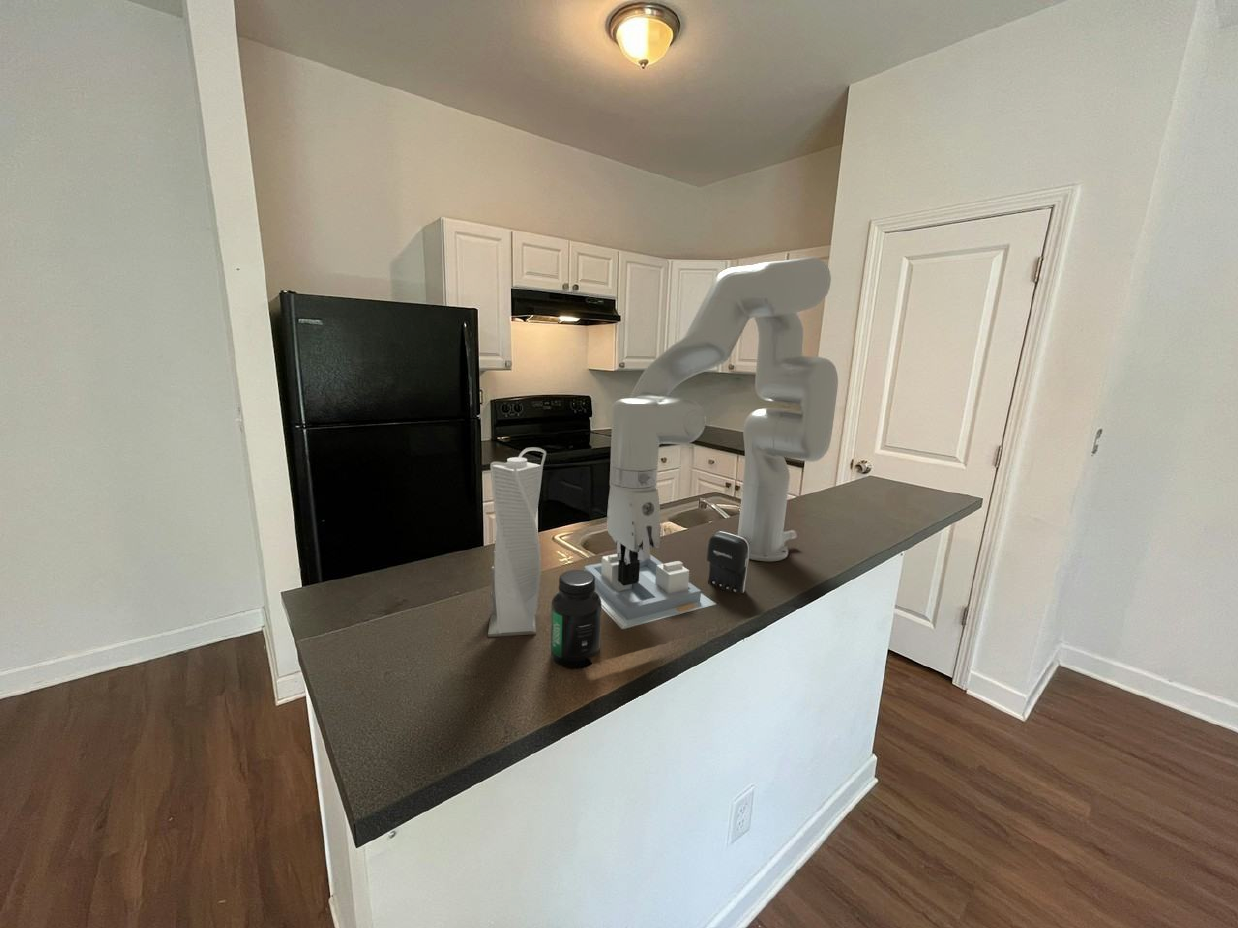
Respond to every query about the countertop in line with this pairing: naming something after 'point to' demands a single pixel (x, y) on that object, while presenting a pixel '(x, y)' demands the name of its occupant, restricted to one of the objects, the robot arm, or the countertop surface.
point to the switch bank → (644, 597)
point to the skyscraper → (515, 546)
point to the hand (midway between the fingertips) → (628, 581)
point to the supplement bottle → (575, 620)
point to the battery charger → (728, 561)
